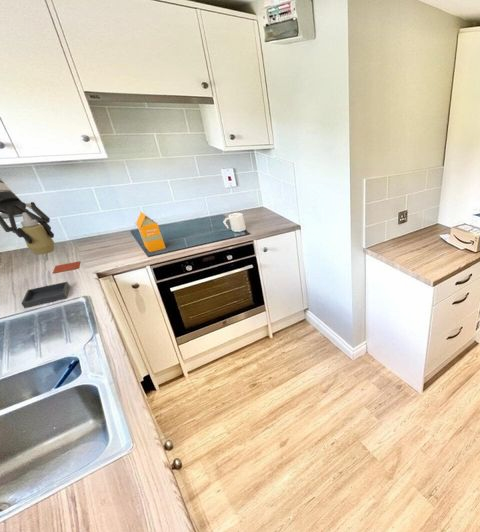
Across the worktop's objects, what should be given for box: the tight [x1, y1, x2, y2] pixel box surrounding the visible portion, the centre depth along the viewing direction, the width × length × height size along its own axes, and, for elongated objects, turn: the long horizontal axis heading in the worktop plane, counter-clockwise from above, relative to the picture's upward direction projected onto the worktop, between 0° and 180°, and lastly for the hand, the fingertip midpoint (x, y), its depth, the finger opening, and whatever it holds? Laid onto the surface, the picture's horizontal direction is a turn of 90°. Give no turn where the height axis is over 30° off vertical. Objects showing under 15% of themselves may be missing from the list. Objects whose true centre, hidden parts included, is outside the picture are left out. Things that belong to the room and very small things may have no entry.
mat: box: [52, 261, 81, 274], centre depth 157 cm, size 9×9×1 cm
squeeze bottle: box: [20, 212, 55, 256], centre depth 136 cm, size 8×8×18 cm
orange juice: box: [135, 211, 166, 253], centre depth 175 cm, size 8×9×20 cm
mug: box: [222, 212, 247, 233], centre depth 204 cm, size 12×9×10 cm
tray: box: [21, 281, 71, 309], centre depth 134 cm, size 12×12×2 cm
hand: (41, 238), depth 136 cm, fingers closed on squeeze bottle, 6 cm apart
